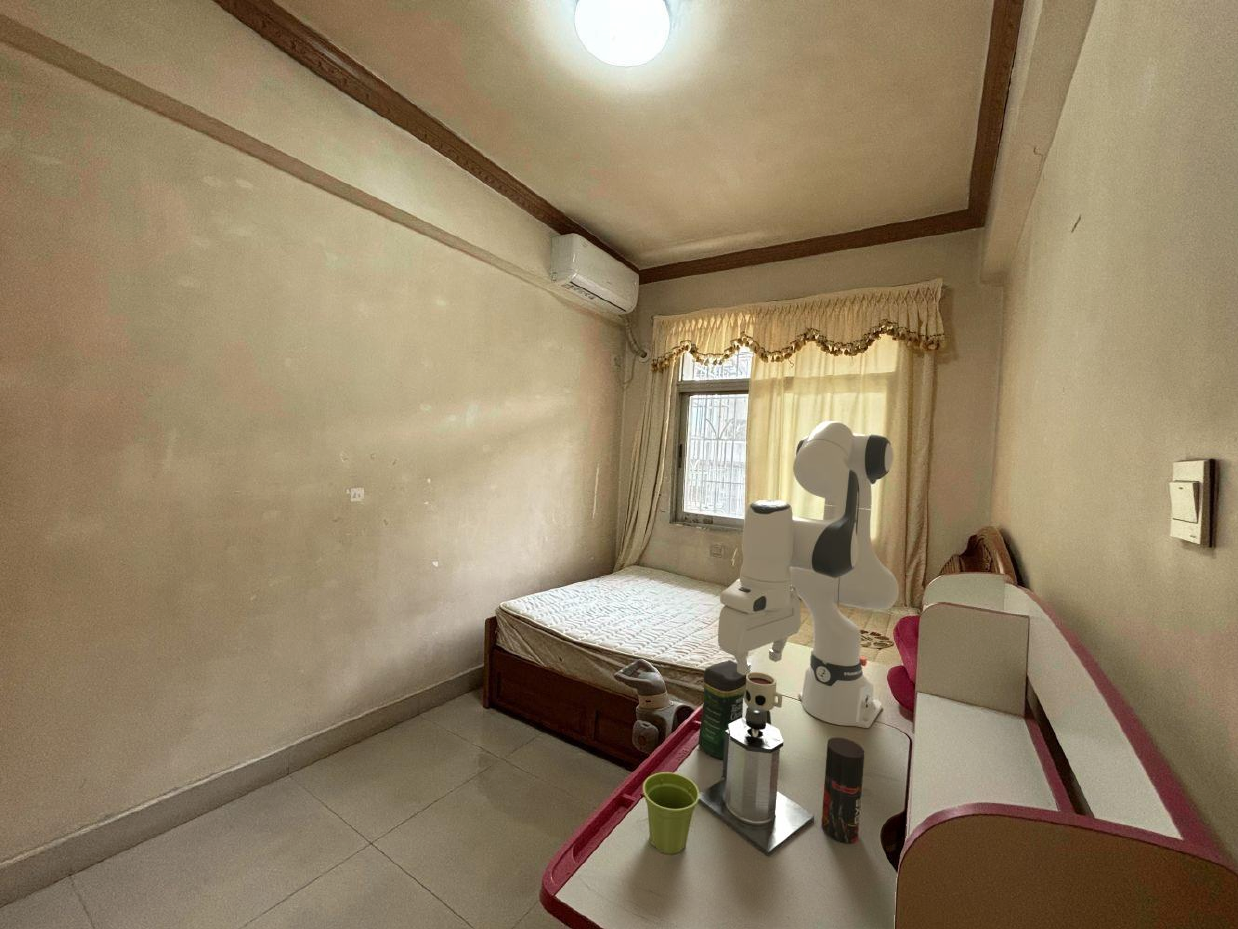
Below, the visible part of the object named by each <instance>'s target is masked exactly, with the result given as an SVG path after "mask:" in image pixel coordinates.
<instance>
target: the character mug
mask: <svg viewBox="0 0 1238 929" xmlns="http://www.w3.org/2000/svg"><path fill="white" fill-rule="evenodd" d="M776 697H777V701H776ZM743 703H745V705H746V706H747V708H748V707H750V706H756V707H760V708H762V709H764V710H765V711H766V712H767V720H766V723H767V724H769V725H771V726H772V718H771V710H773V709H774V707H777V708H782V706H783V694H782V693H781V692H779V691H777V680H776V678H775V677H774V675H773V676H772V675H770V674H769V673H765V672H761V671H750V673H748V674H747V676H746V688H745V692H744V698H743ZM744 718H745V719H746V715H745V717H744Z"/></svg>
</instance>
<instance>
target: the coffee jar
mask: <svg viewBox="0 0 1238 929" xmlns="http://www.w3.org/2000/svg"><path fill="white" fill-rule="evenodd" d="M703 672H704V674H703V679H702V681H703V682H702V685H703V701H702V702H703V703H702V704H703V705H702V713H701V721H700V725H699V726H700V727H699V732H698V733H699V734H698V746H699V747H700V748H701V750H702V751H703V752H705V753H706V754H707V755H709V756H711V757H715V758H719V759H722V760H723V757H724V741H725V731H726V730H728V724H730V723H732V722H734V721H736V720H738V719H740V718H743V717H744V716H743V714H744V713H743V711H744V692H745V688H746V676H747V674H746V675H742V674H740V673H738V672H737V662H735V661H733V660H730V659H728V660H727V661H720V662H719V663H716V664H712V665H710V666H708V667H706V668H705V669H704V671H703Z"/></svg>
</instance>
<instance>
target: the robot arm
mask: <svg viewBox="0 0 1238 929" xmlns="http://www.w3.org/2000/svg"><path fill="white" fill-rule="evenodd" d="M893 462H894V450H893V448H892V444H891V441H890V440H889V439H888V438H887V437H885V436H882V435H878V434H870V435H867V434H859V433H853V431H852V430H851V428H850V427H848V426H847V425H845V423H842V422H840V421H837V420H836V421H835V420H834V421H832V420H829V421H825V422H822V423H820V424H819V425H817V426H816V427H815V428H814V429H813V430H812V431H811V432H810V433H809V435H807V436H804V437H803V438H802V439H801V440H800V441H799V442H798V444H797V446H796V451H795V457H794V460H793V465H792V466H793V467H792V469H793V470H792V471H793V475H794V477H795V479H796V481H797V483H798V485H799V486H801V488H803V490H805V491H806V492H808V493H809V494H811V495H812V496H813V495H814V496H815V497H819V498H822V499H824V506H823V515H822V517H823V519H817V518H808V517H806V518H805V517H800V516H795V515H793V509H792V506H791V505H790V504H789V503H788V502H785V501H783V500H780V499H779V500H778V499H760V500H757V501H754V502H751V503H750V504H749V505H748V507H747V510H746V513H745V518H744V522H743V529H742V537H741V552H742V564H741V567H740V572H739V578H738V579H736V580H735V581H734V582H733V583H732V584H731V585H729V587H726V588H725V589H724V590H723V591H722V592H721V593H720V597H719V601H720V604H722V605H724V606H723V607H722V608H721V610H720V613H719V617H718V629H717V645H718V646H719V649H721V651H723V652H725V653H727V654H728V655H731V656H733V657H734V660H736V663H737V672H738V673H740V674H742V675H746V674H748V673H750V672H751V667H752V666H751V663H749V662H748V660H747V657H749V652H751V651H753V650H755V649H756V650H757V649H759V648H761V647H764V646H767V645H770V644H772V647H771V649H769V650H768V659H769V660H770V661H772V662H774V663H776V662H779V661H781V660H782V657H783V656H782V654H783V652H784V648H785V646H786V644H787V640H788V639H787V638H788V637H791V636H793V635H796V634H798V633H799V632H800V629H801V620H802V619H801V618H802V615H801V602H800V599H801V600H802V602H803V603H804V605H805V606H806V608H807V609H808V612H809V614H810V617H811V620H812V625H813V626H812V627H813V646H812V651H811V653H810V656H809V657H810V659H809V660H810V663H809V667H808V668H806V669H805V674H804V679H803V680H804V681H803V685H802V686H803V687H802V690H801V691H799V692H798V698H799V699H800V701H801V704H802V707H803V709H804V710H805V711H806V712H807V713H808V714H810V715H811V716H813V717H815V718H816V719H819V720H820V721H824V722H827V723H829V724H833V725H838V726H847V727H849V726H851V727H857V728H858V727H859V728H863V729H868V728H870V727H871V726H872V724H873V723H874V722H875V719H876V718H877V716H878V715H879V714H880V712H881V711H882V709H883V704H882V702H881V701H880V700H878V699H877V698H876V697H874V684H873V683H872V682H871V681H870V680H869V679H868V678H867V677H866V676H865V675H864V672H863V667H866V666H867V663H868V662H867V660H868V659H867V658H865V657H862V656H861V646H862V633H861V629H860V628H859V627H858V626H857V624H856V623H855V622H854V621H853V620H852V619H849V618H848V617H846V616H845V615H844V614H842V612H840V610H839V608H838V605H839V606H840V605H841V606H845V607H852V608H858V609H862V610H867V611H868V610H869V611H873V610H874V611H875V610H876V611H878V610H879V611H884V610H885V611H887V610H890V608H892V607H893V606H894V605H895V603H896V602H897V601H898V599H899V594H900V586H899V583H898V580H897V578H896V577H895V575H894V573H892V571H890V570H889V569H888V568H887V566H885V565H884V564H883V562H882V561H881V560H880V559H879V557H878V556H877V554H876V552H875V550H874V546H873V544H872V538H871V537H872V536H871V516H872V498H873V496H872V485H875V484H876V482H877V480H880V479H883V478H884V477H885V476H886V475H888V473H889V472H890V469H891V467H892V465H893Z"/></svg>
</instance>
